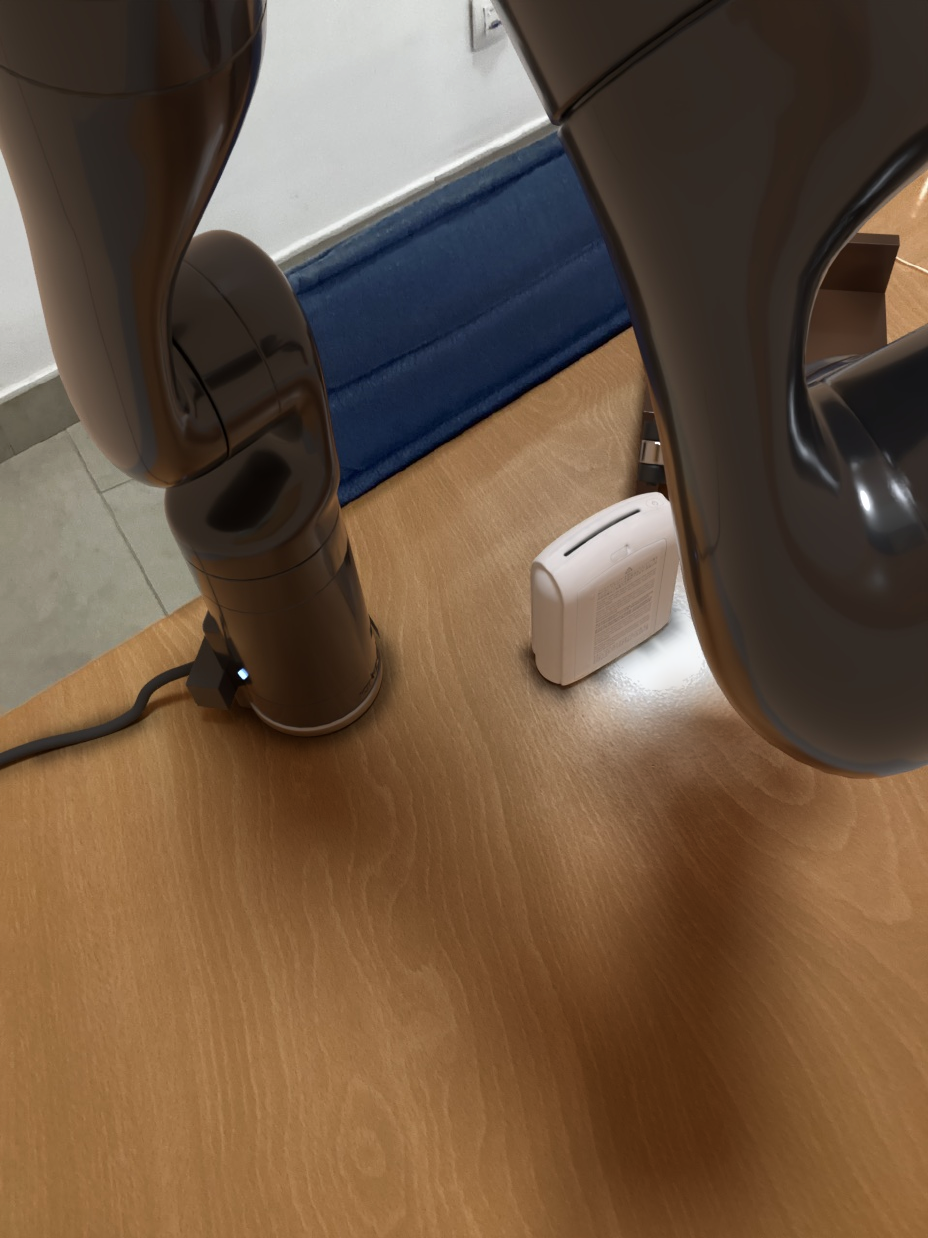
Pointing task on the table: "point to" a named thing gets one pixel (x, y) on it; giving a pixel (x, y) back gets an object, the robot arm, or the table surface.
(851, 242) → the shelf
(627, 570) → the photo printer
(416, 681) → the table surface
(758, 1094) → the table surface
